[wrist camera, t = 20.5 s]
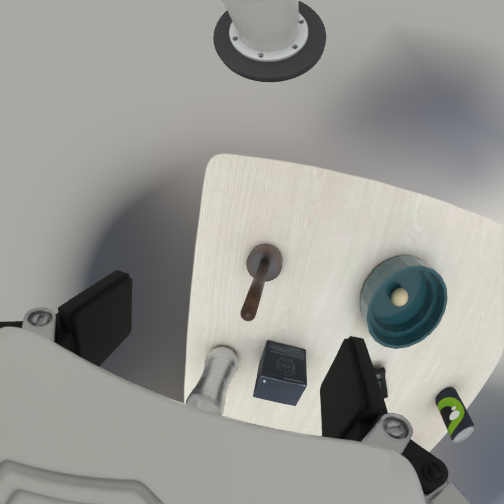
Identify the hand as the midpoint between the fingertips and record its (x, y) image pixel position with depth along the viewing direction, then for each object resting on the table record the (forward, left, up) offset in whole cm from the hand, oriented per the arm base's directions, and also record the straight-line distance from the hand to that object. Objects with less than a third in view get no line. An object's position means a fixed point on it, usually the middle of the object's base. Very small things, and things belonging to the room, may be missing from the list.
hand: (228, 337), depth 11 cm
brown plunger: (+8, 0, -34) cm, 35 cm away
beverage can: (+31, +54, -34) cm, 71 cm away
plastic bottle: (+30, -3, -34) cm, 46 cm away
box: (+26, +8, -34) cm, 44 cm away
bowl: (+8, +25, -34) cm, 43 cm away
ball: (+8, +24, -32) cm, 41 cm away
